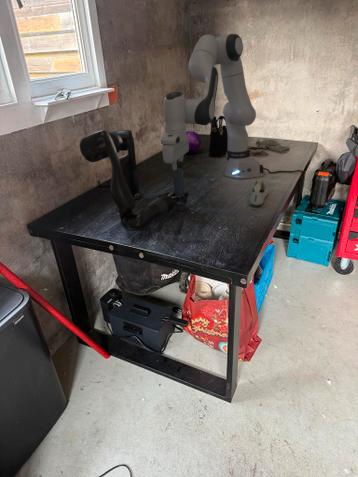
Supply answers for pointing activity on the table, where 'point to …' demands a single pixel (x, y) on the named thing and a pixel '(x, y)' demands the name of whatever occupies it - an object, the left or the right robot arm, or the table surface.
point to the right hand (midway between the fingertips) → (177, 167)
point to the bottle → (179, 186)
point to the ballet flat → (258, 193)
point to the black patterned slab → (218, 139)
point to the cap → (179, 164)
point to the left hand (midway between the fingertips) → (182, 193)
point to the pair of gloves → (267, 144)
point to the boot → (213, 124)
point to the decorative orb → (193, 141)
